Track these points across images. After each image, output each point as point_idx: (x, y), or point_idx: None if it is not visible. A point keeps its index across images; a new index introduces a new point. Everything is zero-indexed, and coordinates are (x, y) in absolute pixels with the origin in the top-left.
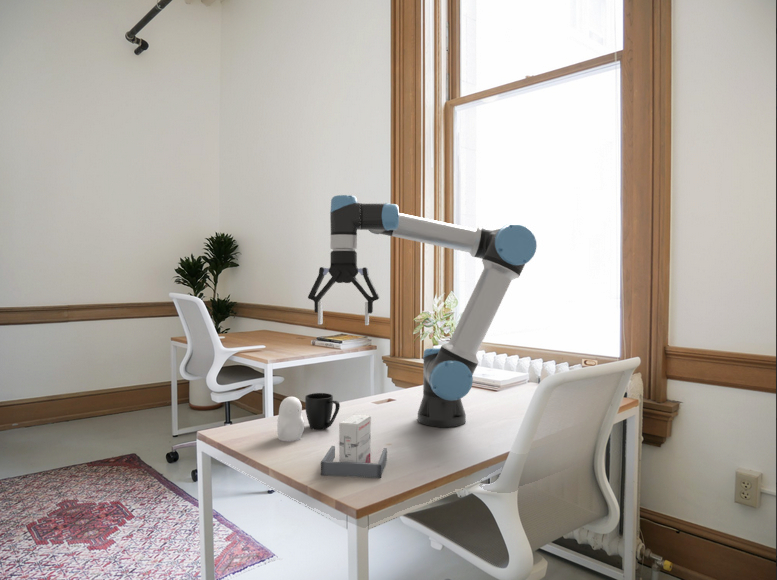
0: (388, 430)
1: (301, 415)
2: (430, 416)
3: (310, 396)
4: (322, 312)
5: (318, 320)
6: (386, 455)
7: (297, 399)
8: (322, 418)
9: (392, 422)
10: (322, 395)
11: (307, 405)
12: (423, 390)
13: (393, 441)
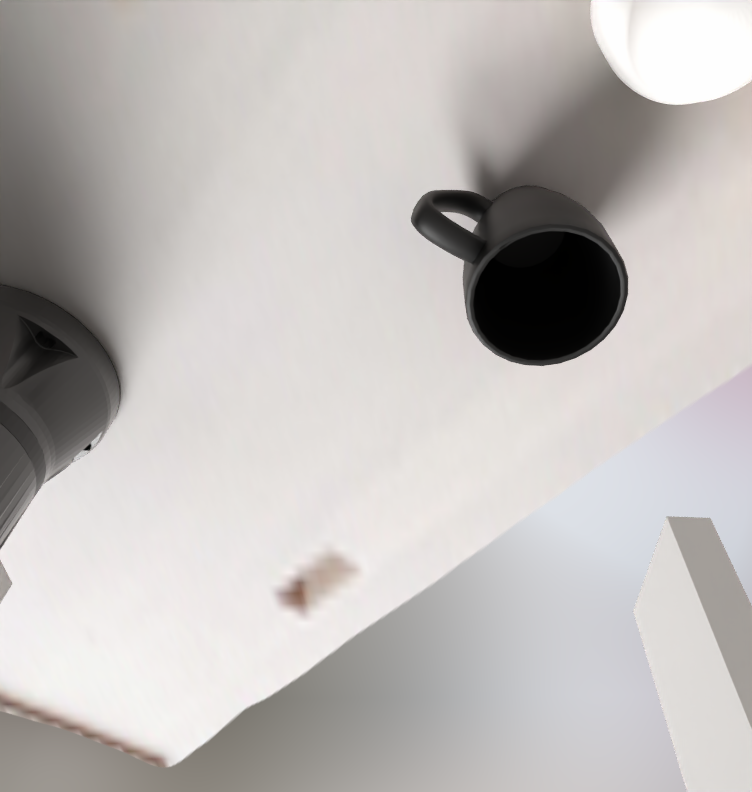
0: (191, 215)
1: (624, 27)
2: (14, 316)
3: (598, 326)
4: (688, 779)
5: (724, 572)
6: None
7: (684, 16)
8: (505, 197)
9: (208, 333)
10: (531, 352)
11: (603, 227)
12: (28, 447)
13: (113, 34)
